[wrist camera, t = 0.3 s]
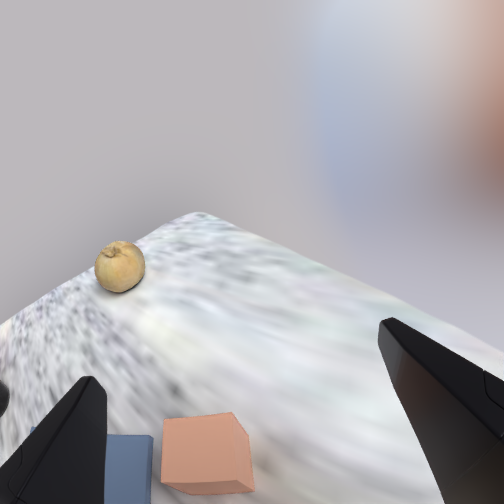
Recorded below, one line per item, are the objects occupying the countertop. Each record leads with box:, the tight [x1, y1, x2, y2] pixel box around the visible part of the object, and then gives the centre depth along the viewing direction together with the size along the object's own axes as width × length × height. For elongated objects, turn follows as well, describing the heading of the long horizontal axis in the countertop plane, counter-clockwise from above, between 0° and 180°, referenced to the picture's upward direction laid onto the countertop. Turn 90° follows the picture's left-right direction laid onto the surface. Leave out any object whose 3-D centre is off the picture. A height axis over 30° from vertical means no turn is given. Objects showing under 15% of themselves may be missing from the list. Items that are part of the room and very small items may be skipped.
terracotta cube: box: [161, 412, 255, 495], centre depth 17 cm, size 5×5×5 cm
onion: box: [95, 241, 145, 292], centre depth 41 cm, size 8×8×7 cm
